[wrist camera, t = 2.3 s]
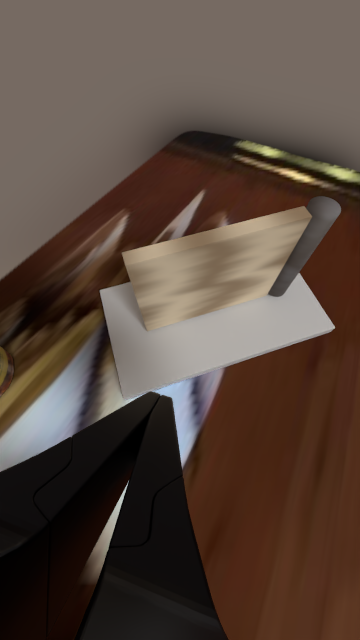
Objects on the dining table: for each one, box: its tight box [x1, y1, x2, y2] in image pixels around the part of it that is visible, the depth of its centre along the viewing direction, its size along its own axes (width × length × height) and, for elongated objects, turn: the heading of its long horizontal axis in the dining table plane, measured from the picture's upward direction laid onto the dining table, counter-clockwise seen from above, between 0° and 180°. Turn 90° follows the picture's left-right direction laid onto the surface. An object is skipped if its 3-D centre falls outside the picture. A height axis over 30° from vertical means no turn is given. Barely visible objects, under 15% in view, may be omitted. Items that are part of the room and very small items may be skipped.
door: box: [122, 196, 341, 331], centre depth 20 cm, size 14×4×10 cm, turn 108°
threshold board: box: [100, 273, 335, 400], centre depth 24 cm, size 20×11×1 cm, turn 108°
